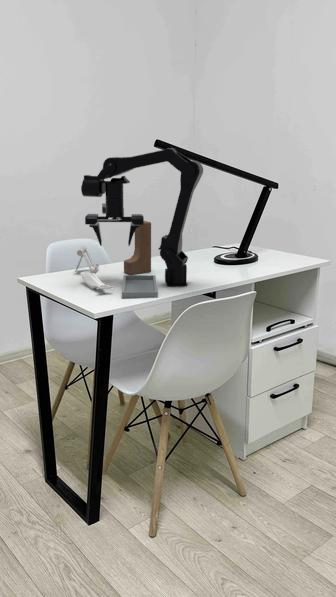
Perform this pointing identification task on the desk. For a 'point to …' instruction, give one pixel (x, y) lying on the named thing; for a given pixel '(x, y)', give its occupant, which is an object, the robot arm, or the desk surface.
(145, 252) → the brown boot
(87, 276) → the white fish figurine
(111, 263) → the desk surface
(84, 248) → the portable electronic device stand
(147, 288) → the razor tray
